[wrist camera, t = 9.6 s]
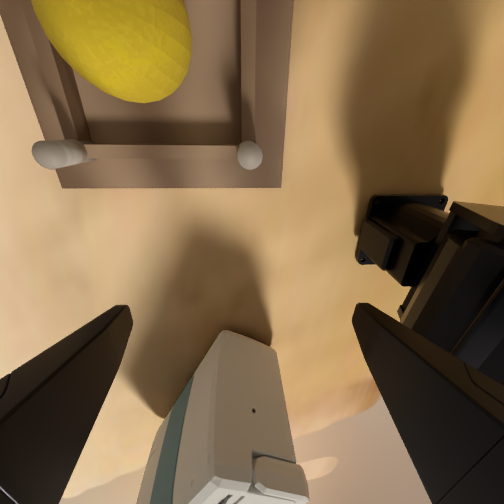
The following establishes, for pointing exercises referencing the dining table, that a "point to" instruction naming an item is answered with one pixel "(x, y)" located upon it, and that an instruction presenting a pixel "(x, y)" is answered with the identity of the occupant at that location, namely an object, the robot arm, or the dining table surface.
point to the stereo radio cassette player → (227, 434)
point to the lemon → (121, 43)
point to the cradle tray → (168, 105)
